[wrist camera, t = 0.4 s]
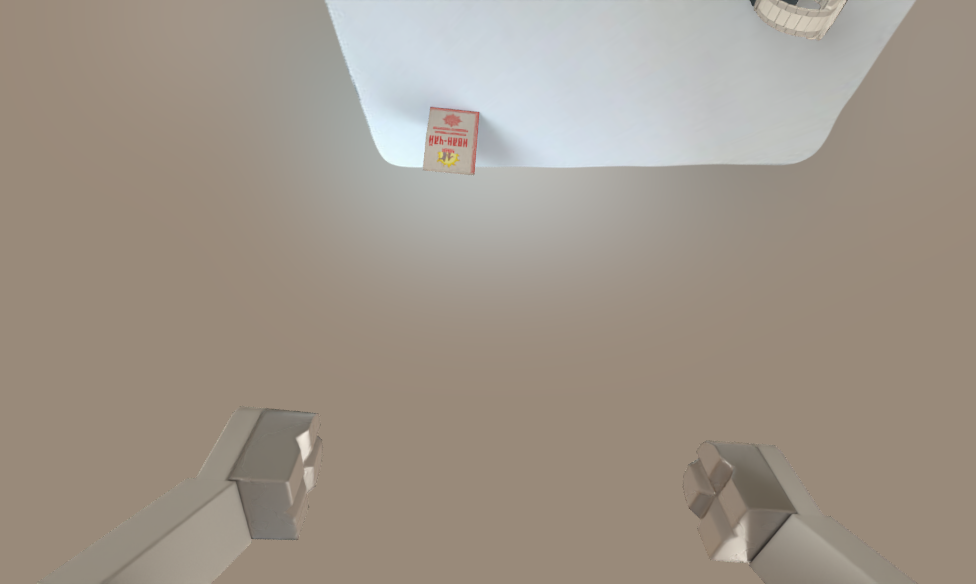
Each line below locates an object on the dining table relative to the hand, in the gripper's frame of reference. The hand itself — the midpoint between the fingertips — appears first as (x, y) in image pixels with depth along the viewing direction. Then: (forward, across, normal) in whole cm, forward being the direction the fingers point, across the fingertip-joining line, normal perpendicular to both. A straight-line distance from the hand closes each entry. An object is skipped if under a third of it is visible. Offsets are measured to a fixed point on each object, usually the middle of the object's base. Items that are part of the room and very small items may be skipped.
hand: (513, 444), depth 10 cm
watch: (+52, -29, -14) cm, 61 cm away
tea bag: (+63, +3, +9) cm, 64 cm away
